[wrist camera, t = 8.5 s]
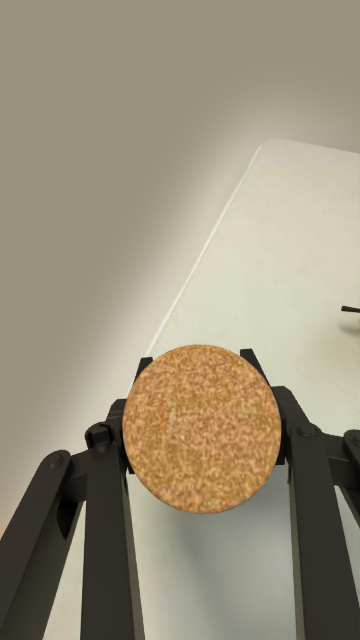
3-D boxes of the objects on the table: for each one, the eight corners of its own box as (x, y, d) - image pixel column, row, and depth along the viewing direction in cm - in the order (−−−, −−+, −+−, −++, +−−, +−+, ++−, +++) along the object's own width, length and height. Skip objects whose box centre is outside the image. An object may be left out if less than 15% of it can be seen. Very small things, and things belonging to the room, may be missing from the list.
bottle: (235, 481, 20) (299, 573, 6) (159, 462, 21) (74, 507, 7) (244, 401, 22) (306, 342, 9) (175, 387, 23) (132, 314, 10)
